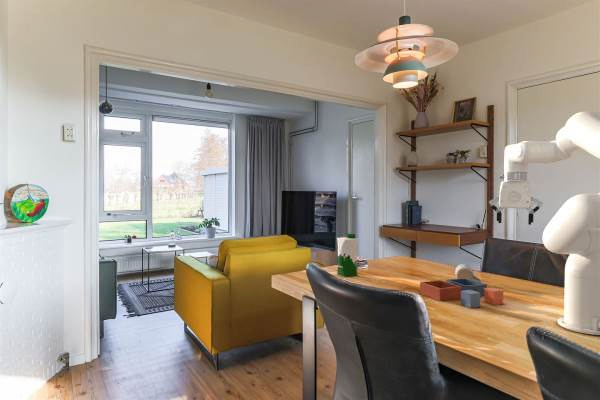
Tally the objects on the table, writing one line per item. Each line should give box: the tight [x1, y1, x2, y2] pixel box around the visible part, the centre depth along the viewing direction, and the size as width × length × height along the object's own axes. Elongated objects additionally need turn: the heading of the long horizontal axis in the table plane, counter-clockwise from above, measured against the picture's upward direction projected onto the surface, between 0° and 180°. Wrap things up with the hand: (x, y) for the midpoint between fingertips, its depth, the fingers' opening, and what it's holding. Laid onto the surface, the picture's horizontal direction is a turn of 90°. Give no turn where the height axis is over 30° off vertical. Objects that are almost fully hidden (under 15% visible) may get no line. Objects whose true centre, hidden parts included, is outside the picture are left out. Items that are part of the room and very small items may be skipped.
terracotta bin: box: [419, 279, 461, 302], centre depth 142 cm, size 11×10×4 cm
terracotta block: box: [483, 287, 504, 306], centre depth 133 cm, size 4×4×5 cm
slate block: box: [460, 290, 481, 309], centre depth 129 cm, size 4×4×5 cm
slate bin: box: [445, 278, 488, 297], centre depth 146 cm, size 11×10×4 cm
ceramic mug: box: [454, 263, 482, 283], centre depth 164 cm, size 11×8×8 cm
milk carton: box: [336, 233, 359, 278], centre depth 178 cm, size 9×9×20 cm
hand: (514, 223), depth 136 cm, fingers open, 9 cm apart
